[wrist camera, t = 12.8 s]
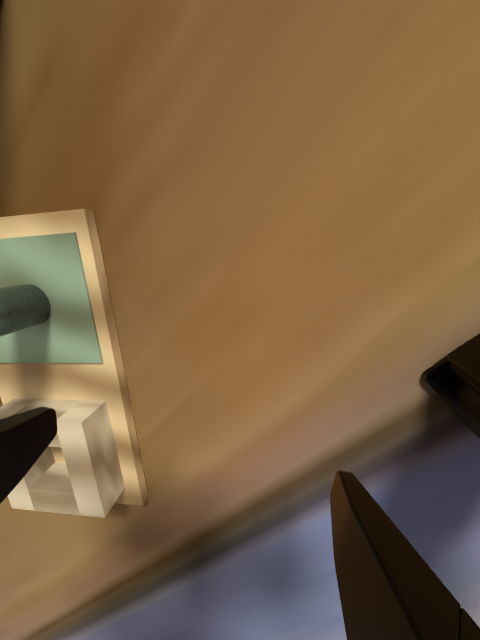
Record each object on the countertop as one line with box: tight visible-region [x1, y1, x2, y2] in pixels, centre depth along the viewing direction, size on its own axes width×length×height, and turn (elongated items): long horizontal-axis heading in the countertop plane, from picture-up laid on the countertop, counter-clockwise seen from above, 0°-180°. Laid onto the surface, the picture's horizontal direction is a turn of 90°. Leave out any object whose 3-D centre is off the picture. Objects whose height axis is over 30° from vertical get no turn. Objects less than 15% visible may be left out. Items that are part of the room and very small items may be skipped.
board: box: [0, 209, 148, 518], centre depth 23 cm, size 26×12×4 cm, turn 4°
